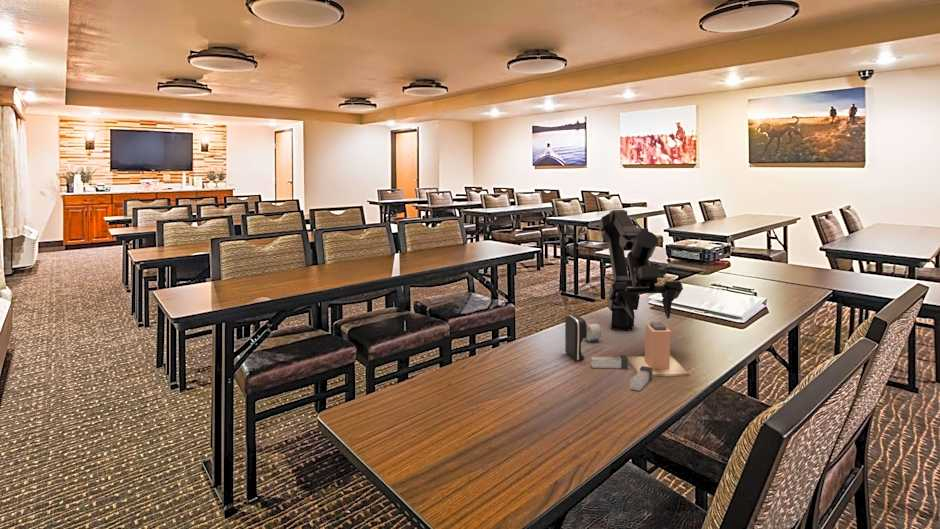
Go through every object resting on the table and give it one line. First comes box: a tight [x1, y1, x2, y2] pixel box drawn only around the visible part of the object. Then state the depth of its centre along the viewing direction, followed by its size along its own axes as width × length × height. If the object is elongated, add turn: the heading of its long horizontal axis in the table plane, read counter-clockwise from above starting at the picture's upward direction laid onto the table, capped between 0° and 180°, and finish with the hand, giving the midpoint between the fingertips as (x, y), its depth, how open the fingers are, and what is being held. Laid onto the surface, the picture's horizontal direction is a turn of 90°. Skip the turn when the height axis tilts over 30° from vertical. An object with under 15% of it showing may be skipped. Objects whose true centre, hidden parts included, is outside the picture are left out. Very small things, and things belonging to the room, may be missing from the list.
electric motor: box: [585, 323, 602, 343], centre depth 157 cm, size 7×5×5 cm
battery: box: [564, 314, 588, 361], centre depth 144 cm, size 7×4×11 cm, turn 14°
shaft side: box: [590, 354, 629, 370], centre depth 137 cm, size 9×3×3 cm, turn 84°
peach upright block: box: [644, 322, 672, 369], centre depth 135 cm, size 6×4×11 cm
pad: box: [627, 355, 690, 377], centre depth 136 cm, size 12×12×1 cm
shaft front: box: [629, 366, 653, 392], centre depth 127 cm, size 9×3×3 cm, turn 144°
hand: (651, 318), depth 140 cm, fingers open, 9 cm apart
